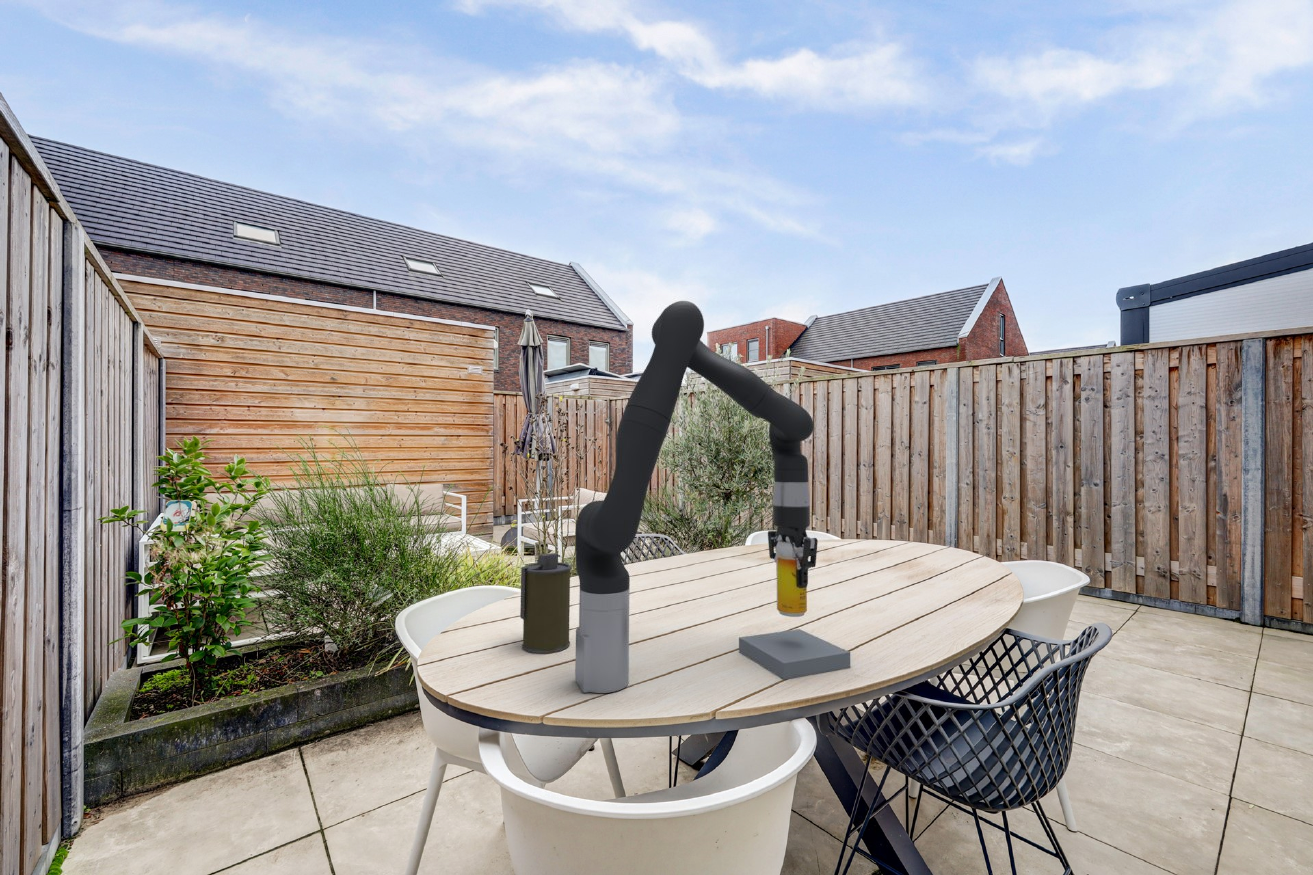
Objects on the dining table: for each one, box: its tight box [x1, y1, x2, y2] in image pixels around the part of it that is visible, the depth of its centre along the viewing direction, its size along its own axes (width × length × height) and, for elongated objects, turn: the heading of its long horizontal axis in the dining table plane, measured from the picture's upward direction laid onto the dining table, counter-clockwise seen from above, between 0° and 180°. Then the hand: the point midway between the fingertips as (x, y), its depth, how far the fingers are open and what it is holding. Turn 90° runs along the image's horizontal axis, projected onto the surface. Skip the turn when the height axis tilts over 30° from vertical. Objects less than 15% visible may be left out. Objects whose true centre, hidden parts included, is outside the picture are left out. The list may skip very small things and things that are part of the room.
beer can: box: [776, 541, 808, 618], centre depth 111 cm, size 6×6×15 cm
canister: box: [519, 552, 572, 655], centre depth 118 cm, size 11×10×20 cm
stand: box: [738, 628, 851, 681], centre depth 110 cm, size 16×16×3 cm
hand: (791, 583), depth 111 cm, fingers closed on beer can, 6 cm apart
